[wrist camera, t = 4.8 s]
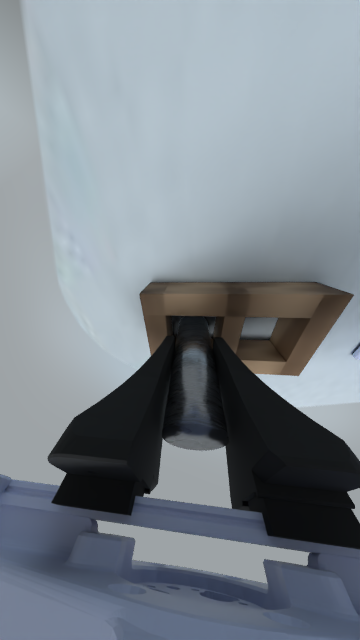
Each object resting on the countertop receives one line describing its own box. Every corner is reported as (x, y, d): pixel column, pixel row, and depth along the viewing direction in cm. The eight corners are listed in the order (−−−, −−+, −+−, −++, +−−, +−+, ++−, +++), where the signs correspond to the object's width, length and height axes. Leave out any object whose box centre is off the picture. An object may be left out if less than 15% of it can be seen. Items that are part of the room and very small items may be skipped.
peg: (207, 311, 13) (229, 425, 5) (208, 336, 14) (228, 451, 6) (176, 315, 13) (153, 423, 5) (181, 338, 15) (169, 448, 7)
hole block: (315, 282, 11) (354, 294, 8) (280, 352, 15) (298, 375, 12) (150, 282, 12) (139, 293, 9) (159, 348, 16) (153, 368, 14)
